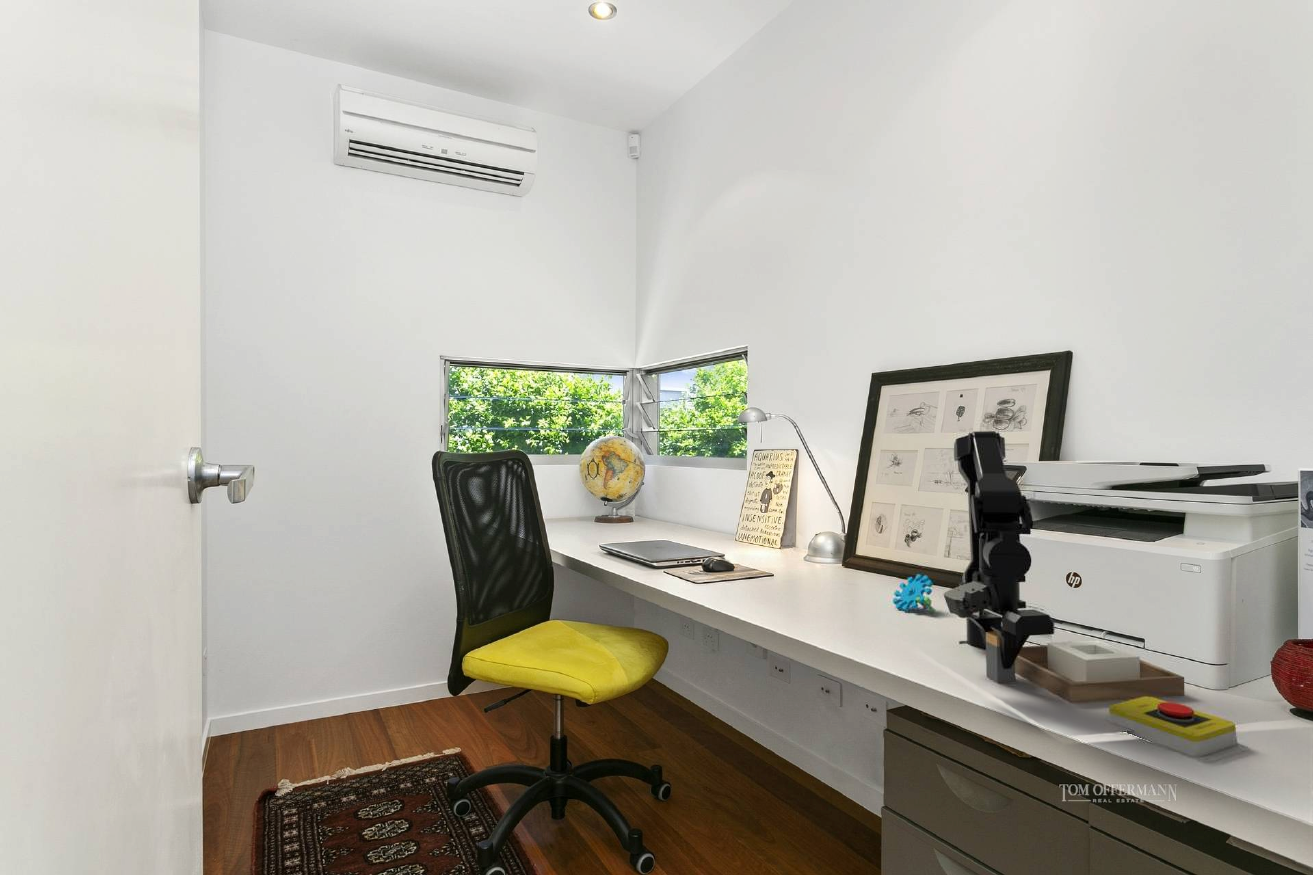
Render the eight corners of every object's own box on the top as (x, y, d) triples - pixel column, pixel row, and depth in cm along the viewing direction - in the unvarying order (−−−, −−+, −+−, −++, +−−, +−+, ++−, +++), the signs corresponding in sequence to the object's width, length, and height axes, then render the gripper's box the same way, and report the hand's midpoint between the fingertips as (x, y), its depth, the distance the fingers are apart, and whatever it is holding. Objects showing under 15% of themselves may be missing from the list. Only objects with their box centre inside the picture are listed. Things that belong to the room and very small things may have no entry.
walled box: (998, 668, 123) (998, 647, 123) (1096, 662, 125) (1096, 642, 125) (1071, 708, 105) (1071, 684, 105) (1184, 700, 107) (1184, 677, 107)
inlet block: (1047, 668, 120) (1047, 642, 120) (1097, 665, 122) (1097, 640, 122) (1086, 687, 112) (1085, 659, 112) (1140, 683, 113) (1139, 656, 113)
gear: (883, 597, 170) (913, 566, 170) (899, 613, 171) (929, 583, 171) (907, 615, 159) (939, 582, 159) (924, 632, 160) (956, 600, 160)
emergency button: (1209, 731, 87) (1089, 692, 101) (1209, 768, 87) (1090, 723, 101) (1253, 718, 91) (1132, 681, 105) (1253, 752, 91) (1132, 712, 105)
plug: (986, 681, 117) (985, 631, 117) (1004, 680, 117) (1003, 630, 117) (997, 688, 114) (996, 637, 114) (1015, 686, 114) (1014, 636, 114)
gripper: (922, 558, 124) (923, 650, 124) (984, 580, 105) (986, 688, 106) (984, 556, 125) (985, 647, 125) (1056, 577, 107) (1057, 684, 107)
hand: (1000, 665), depth 116 cm, fingers closed on plug, 3 cm apart
